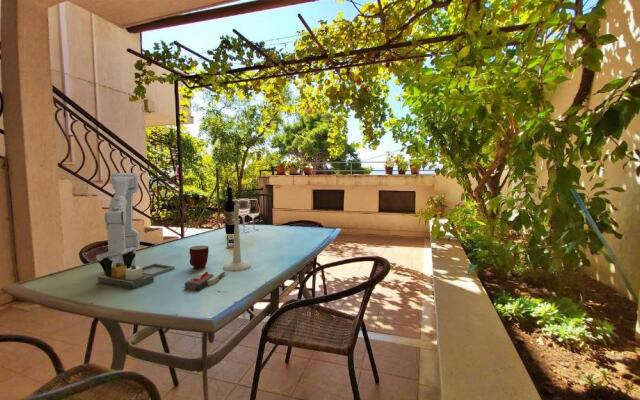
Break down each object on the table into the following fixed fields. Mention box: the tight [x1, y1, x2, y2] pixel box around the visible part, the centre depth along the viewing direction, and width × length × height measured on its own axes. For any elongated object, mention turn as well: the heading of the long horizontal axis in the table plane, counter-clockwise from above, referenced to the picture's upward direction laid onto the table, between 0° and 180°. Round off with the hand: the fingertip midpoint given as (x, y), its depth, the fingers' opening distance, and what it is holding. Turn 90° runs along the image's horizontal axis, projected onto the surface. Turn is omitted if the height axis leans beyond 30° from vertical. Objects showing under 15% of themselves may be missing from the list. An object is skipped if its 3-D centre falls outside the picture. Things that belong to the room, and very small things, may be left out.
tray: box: [141, 263, 176, 277], centre depth 133 cm, size 12×12×2 cm
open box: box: [97, 274, 155, 290], centre depth 119 cm, size 19×9×3 cm, turn 69°
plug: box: [111, 263, 127, 277], centre depth 120 cm, size 4×4×7 cm
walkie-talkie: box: [184, 271, 226, 291], centre depth 121 cm, size 9×4×20 cm
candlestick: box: [222, 204, 252, 272], centre depth 141 cm, size 13×13×30 cm
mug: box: [189, 245, 210, 270], centre depth 137 cm, size 11×8×10 cm
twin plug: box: [125, 265, 142, 280], centre depth 117 cm, size 4×4×7 cm
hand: (118, 273), depth 120 cm, fingers open, 7 cm apart
